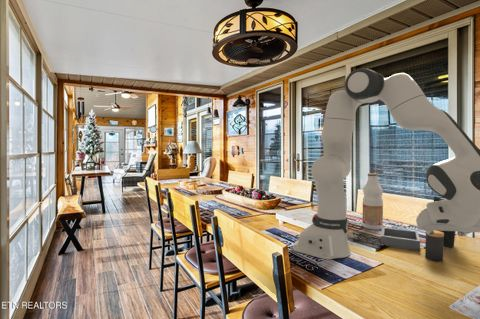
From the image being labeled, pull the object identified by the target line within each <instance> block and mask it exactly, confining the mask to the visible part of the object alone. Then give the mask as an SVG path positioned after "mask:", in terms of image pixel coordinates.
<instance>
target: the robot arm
mask: <svg viewBox="0 0 480 319" xmlns="http://www.w3.org/2000/svg"><path fill="white" fill-rule="evenodd" d="M380 101H382V103H384V104H385V106H386V108H387V109H388V111H389V113H390V115H391V117H392V119H393V120H394V123H396V124H397V125H398V127H400V128H403V129H405V130H409V131H410V130H411V131H425V132H432V133H435V134H437V135H438V136H440V137H441V139H442V140H443V141H444V142H445V143H446V145H447V146H448V148H449V149H450V150H451V151H452V153H453V154H454V156H453V157H451V158H448V159H445V160H441V161H439V162H436V163H434V164H432V165H430V166H428V168H427V169H426V173H425V179H426V184H427V185H428V187H429V188H430V189H431V190H432V191H433V192H435V193H436V194H437V195H438V196H440V197H443V198H445V199H446V200H442V201H437V202H434V201H431V202H428V203H426V208H424V209H422V210H421V211H420V213H418V215H417V217H416V219H415V221H416V222H415V223H416V225H417V228H418V229H420V230H422V231H424V230H425V232H426V231H427V234H433V233H434V231H433V230H440V231H455V232H456V233H457V235H458V237H465V236H466V235H468V234H471V233H480V147H478V146H477V145H476V144H475V143H474V141H472V139H471V138H470V137H469V135H468V134H467V133H466V132H465V131H464V130H463V129H462V127H461V126H460V125H459V124H458V123H457V121H456V120H455V119H454V118H453V117H452V116H451V115H450V114H449V113H448V112H446V110H443V109H440V108H438V107H437V106H435V105H434V104H433V103H432V102H430V100H429V99H428V98H427V96H426V95H425V93H424V92H423V90H422V89H421V88H420V86H419V84H418V83H417V82H416V81H415V79H413V77H411V75H409V74H407V73H405V72H399V73H394V74H392V75H391V76H389V77H384V75H383V74H381V73H378V72H377V71H375V70H373V69H370V68H365V67H361V68H357V69H354V70H352V71H351V72H350V73H349V74H348V75H347V77H346V78H345V80H344V90H343V89H342V90H341V89H340V90H337V91H334V92H332V93H331V95H330V96H329V98H328V101H327V103H326V109H325V113H324V118H323V119H324V120H323V126H322V133H321V141H322V145H323V146H322V150H323V154H322V156H319V157H318V158H317V159H315V161H314V162H313V163H312V164H311V169H310V173H311V176H312V177H313V179H314V185H315V190H316V198H317V199H316V200H317V201H316V202H317V211H316V212H317V213H315V214H314V215H313V216H312V218H311V222H312V224H310V225H309V226H307V227H306V228H304V229H303V230H302V231H301V232H300V233H299V236H298V240H296V241H295V242H294V243H293V244H292V251H294V252H298V253H301V254H303V255H309V256H312V257H315V258H320V259H323V260H333V259H343V258H344V259H345V258H347V257H349V256H350V255H351V249H350V246H349V241H348V231H349V220H348V217H347V207H348V206H347V203H348V202H347V201H348V200H347V195H346V192H345V186H344V185H345V184H344V179H346V178H347V177H348V175H350V172H351V168H352V166H351V164H352V139H353V138H352V137H353V131H354V124H355V119H356V112H357V109H358V107H365V106H368V105H373V104H376V103H378V102H380Z"/></svg>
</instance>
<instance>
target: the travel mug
mask: <svg viewBox="0 0 480 319" xmlns="http://www.w3.org/2000/svg"><path fill="white" fill-rule="evenodd" d="M442 200H446V199H445V198H443V197H442V196H440V197H437V196H434V197H433V202H437V201H442ZM436 231H440V230H436ZM440 232H443V233H444V247H443V248H450V249H451V248H454V247H455V240H456V238H455V237H456V231H440Z"/></svg>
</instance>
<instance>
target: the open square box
mask: <svg viewBox="0 0 480 319" xmlns="http://www.w3.org/2000/svg"><path fill="white" fill-rule="evenodd" d="M381 244H383V245H382V246H384V245H386V247H389V248H390V247H391V248H399V249H403V250H409V251H410V250H411V251H418V252H421V239H420V234H419V231H418V230H417V231H416V230H410V229H409V230H408V229H398V228H394V227H392V228H391V227H384V226H383V227H382V229H381V234H380V245H381Z"/></svg>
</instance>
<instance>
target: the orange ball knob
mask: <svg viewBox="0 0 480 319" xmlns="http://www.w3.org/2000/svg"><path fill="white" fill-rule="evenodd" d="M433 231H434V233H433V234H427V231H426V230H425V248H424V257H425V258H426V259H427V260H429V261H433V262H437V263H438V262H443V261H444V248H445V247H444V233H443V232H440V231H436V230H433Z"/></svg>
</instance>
